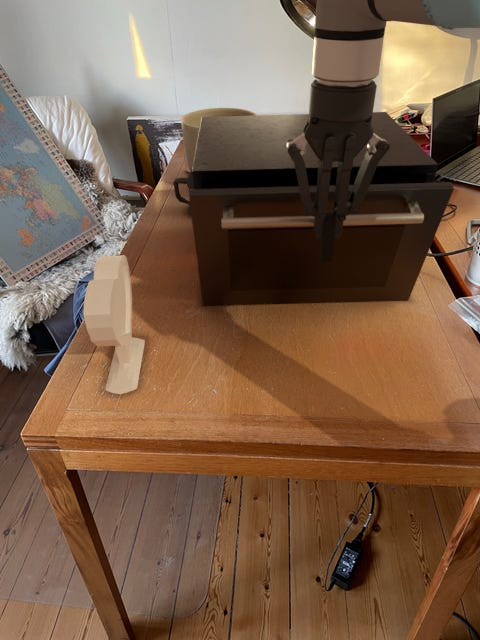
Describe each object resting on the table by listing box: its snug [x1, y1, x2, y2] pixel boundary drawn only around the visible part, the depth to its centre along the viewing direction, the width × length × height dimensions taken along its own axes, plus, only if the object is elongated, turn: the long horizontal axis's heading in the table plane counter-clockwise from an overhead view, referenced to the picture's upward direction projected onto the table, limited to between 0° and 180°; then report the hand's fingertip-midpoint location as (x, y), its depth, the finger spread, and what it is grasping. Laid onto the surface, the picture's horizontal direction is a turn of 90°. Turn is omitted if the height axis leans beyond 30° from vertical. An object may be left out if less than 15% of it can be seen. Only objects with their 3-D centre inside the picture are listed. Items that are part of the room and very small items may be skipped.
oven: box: [192, 111, 439, 189], centre depth 95 cm, size 32×40×26 cm
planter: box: [180, 107, 258, 171], centre depth 130 cm, size 21×21×19 cm
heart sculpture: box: [83, 254, 146, 395], centre depth 71 cm, size 16×5×18 cm, turn 3°
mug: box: [173, 169, 193, 217], centre depth 119 cm, size 12×9×11 cm
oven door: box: [188, 181, 455, 307], centre depth 78 cm, size 5×40×26 cm, turn 91°
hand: (324, 256), depth 67 cm, fingers closed
